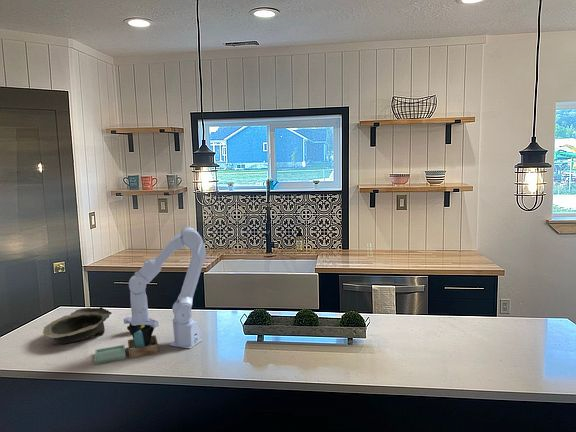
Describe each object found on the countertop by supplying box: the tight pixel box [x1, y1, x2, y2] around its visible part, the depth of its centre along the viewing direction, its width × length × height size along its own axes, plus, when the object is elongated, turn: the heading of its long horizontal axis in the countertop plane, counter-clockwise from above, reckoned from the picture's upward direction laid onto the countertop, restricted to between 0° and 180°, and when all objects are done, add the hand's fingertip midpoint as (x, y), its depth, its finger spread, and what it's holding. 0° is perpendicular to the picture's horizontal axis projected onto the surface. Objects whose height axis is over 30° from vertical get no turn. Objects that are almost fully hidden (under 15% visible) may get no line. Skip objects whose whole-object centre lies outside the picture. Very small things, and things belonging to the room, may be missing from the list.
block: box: [134, 330, 152, 349], centre depth 164 cm, size 4×4×7 cm
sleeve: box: [127, 334, 160, 359], centre depth 164 cm, size 10×10×3 cm
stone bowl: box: [42, 306, 113, 345], centre depth 179 cm, size 25×25×9 cm
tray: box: [94, 344, 127, 366], centre depth 160 cm, size 10×10×2 cm
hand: (142, 343), depth 164 cm, fingers closed on block, 4 cm apart
